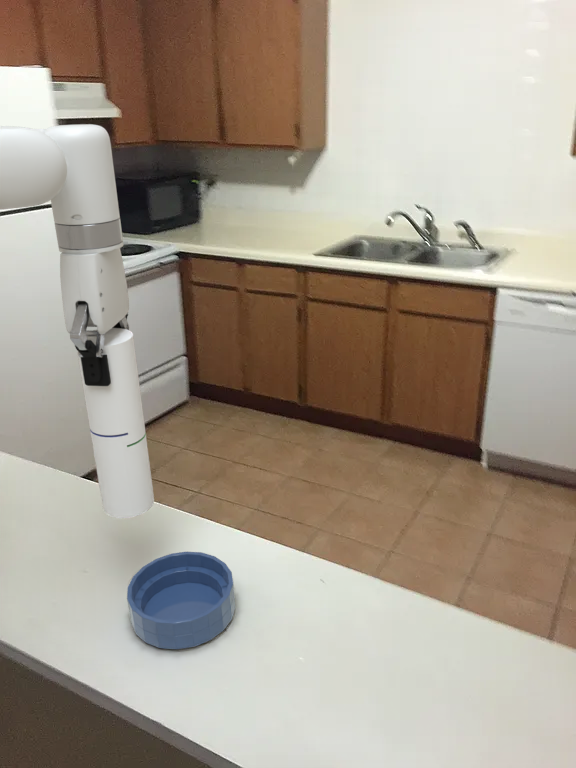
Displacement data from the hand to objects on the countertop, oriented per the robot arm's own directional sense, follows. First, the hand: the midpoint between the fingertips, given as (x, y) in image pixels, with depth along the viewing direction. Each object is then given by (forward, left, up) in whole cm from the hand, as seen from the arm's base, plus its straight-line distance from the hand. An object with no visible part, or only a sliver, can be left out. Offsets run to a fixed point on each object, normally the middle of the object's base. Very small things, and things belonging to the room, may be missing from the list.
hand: (109, 371), depth 87 cm
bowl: (+9, -7, -33) cm, 35 cm away
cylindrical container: (0, 0, -20) cm, 20 cm away
